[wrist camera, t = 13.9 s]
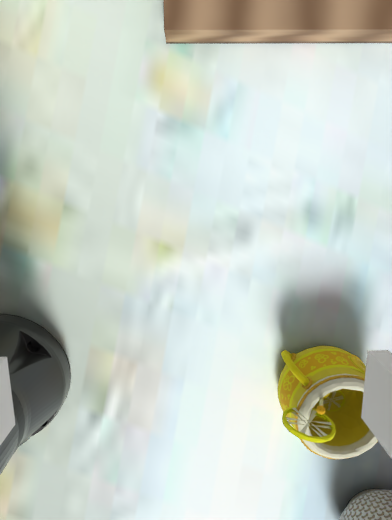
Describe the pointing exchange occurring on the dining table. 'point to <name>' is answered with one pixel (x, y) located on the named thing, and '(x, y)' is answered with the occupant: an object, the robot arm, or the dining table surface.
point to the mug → (325, 401)
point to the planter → (369, 506)
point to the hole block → (278, 21)
